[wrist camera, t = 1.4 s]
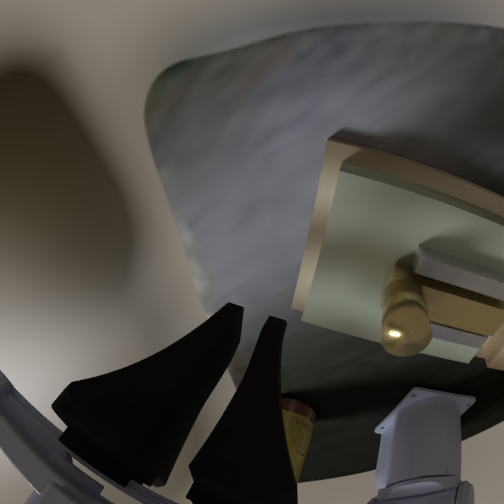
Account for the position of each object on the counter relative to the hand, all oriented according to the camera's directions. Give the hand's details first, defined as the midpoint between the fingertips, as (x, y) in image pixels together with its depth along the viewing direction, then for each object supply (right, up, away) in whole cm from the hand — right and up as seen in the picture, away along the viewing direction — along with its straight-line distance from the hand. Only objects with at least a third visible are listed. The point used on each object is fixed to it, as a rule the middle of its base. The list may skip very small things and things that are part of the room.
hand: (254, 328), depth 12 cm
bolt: (+11, 0, +3) cm, 11 cm away
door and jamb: (+16, +1, +4) cm, 16 cm away
